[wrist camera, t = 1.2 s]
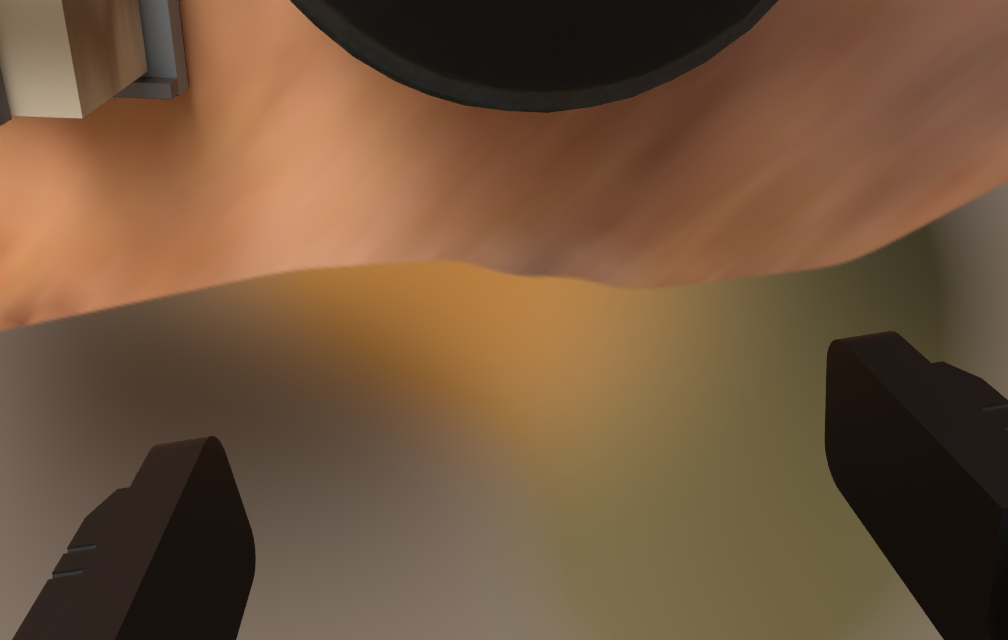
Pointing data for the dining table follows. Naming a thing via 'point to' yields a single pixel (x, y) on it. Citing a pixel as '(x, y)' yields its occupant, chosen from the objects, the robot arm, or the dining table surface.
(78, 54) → the carriage
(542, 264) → the dining table surface
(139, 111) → the dining table surface
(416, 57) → the beer stein
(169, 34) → the rail
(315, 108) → the dining table surface
